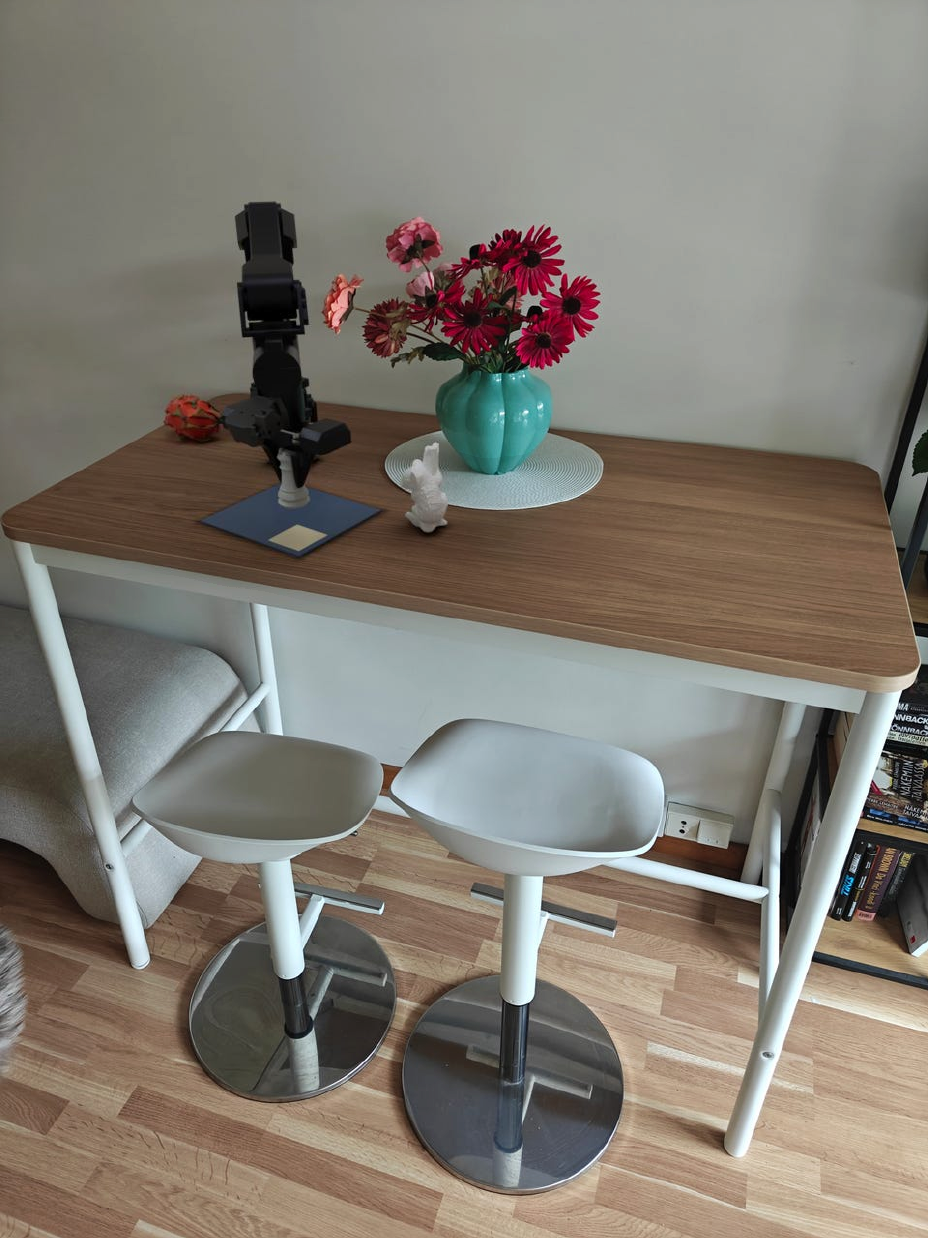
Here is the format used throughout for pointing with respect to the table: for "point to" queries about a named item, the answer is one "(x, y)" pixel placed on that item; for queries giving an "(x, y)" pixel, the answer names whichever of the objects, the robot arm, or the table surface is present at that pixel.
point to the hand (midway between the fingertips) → (291, 484)
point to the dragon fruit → (192, 417)
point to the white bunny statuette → (426, 491)
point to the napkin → (291, 520)
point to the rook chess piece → (290, 485)
